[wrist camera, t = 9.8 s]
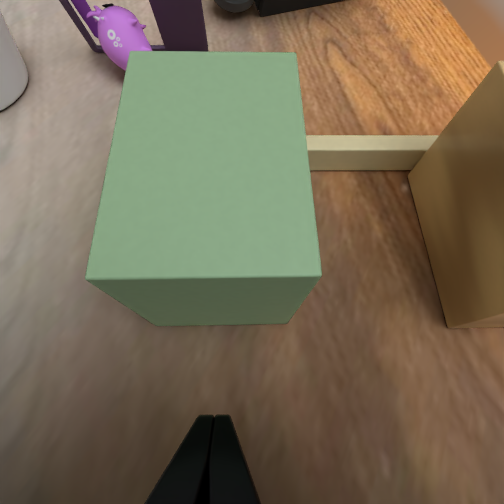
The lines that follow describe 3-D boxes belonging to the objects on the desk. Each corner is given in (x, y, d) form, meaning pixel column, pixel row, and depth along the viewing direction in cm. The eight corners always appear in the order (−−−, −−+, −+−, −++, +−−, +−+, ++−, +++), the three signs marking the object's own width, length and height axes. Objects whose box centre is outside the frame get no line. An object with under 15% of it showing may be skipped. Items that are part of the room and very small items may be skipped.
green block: (287, 324, 17) (323, 276, 9) (155, 326, 16) (83, 279, 9) (277, 171, 20) (296, 51, 13) (170, 171, 20) (128, 49, 13)
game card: (195, -47, 18) (39, -49, 18) (197, 37, 18) (37, 37, 18) (207, 38, 25) (94, 38, 25) (209, 101, 25) (94, 102, 24)
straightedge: (492, 170, 21) (516, 149, 19) (133, 171, 20) (122, 149, 18) (487, 156, 21) (510, 135, 20) (135, 156, 21) (125, 134, 19)
